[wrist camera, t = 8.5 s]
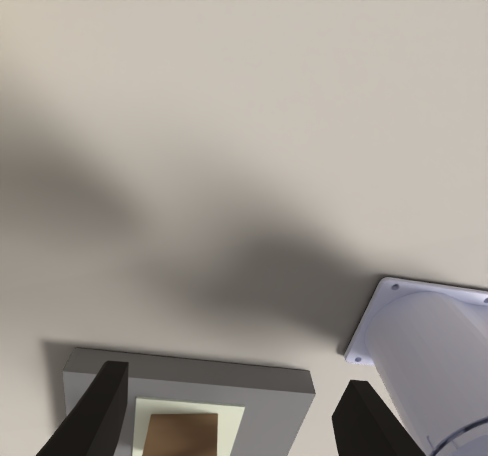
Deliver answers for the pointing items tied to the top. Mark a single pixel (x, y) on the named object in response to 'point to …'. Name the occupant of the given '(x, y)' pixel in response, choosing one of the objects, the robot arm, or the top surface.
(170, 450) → the walnut cube
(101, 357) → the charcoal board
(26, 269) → the top surface
